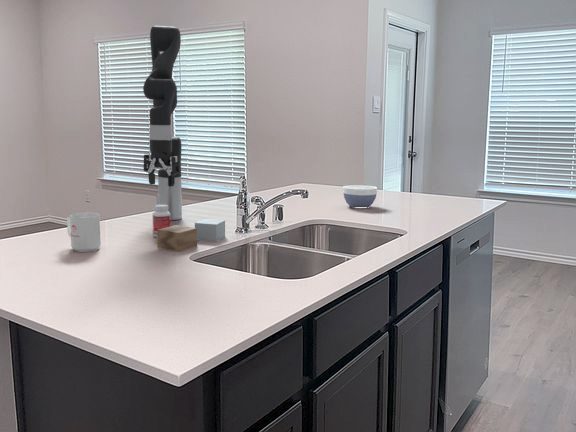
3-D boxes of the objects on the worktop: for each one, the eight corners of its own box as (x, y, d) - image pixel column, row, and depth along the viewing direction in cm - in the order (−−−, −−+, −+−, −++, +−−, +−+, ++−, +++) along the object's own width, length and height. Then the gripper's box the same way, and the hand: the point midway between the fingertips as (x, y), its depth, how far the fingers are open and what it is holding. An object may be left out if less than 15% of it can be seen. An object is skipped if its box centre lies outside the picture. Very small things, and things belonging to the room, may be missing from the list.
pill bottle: (173, 237, 206) (173, 206, 204) (156, 238, 203) (156, 207, 201) (166, 233, 211) (166, 203, 209) (150, 235, 208) (149, 204, 206)
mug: (106, 248, 188) (105, 214, 186) (85, 254, 181) (83, 218, 179) (80, 243, 194) (78, 210, 192) (58, 249, 186) (56, 214, 184)
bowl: (381, 206, 279) (382, 186, 277) (367, 211, 265) (368, 190, 264) (351, 203, 287) (352, 183, 285) (336, 207, 274) (337, 187, 272)
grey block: (194, 239, 202) (194, 222, 201) (204, 235, 210) (204, 218, 209) (216, 241, 200) (216, 224, 199) (225, 236, 208) (225, 220, 207)
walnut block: (157, 247, 191) (157, 229, 189) (176, 242, 198) (175, 225, 197) (179, 251, 186) (178, 232, 185) (197, 246, 194) (196, 228, 193)
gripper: (137, 137, 201) (138, 184, 204) (169, 139, 194) (170, 188, 197) (152, 137, 208) (153, 182, 211) (183, 138, 201) (184, 185, 204)
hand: (161, 185), depth 204 cm, fingers open, 8 cm apart
